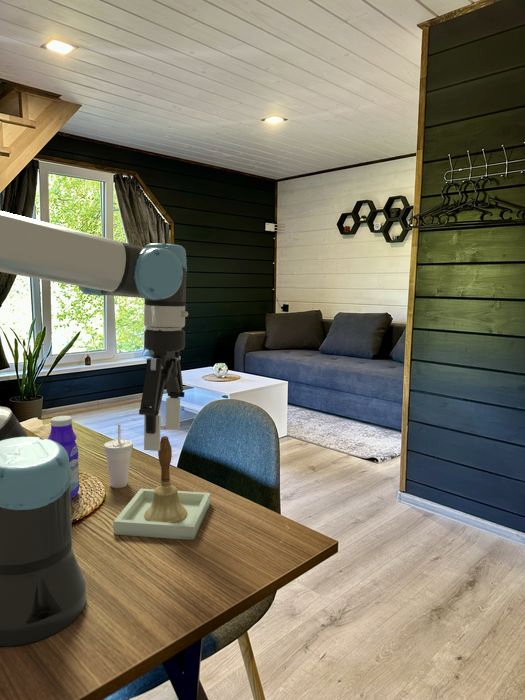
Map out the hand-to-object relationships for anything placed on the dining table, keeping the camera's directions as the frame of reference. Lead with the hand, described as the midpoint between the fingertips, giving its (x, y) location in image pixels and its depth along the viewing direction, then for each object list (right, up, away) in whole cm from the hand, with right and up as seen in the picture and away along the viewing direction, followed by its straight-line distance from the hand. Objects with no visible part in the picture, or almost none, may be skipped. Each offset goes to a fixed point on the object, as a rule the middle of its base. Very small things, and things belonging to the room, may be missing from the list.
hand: (163, 439), depth 97 cm
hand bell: (0, -16, +3) cm, 16 cm away
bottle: (-23, -15, +11) cm, 30 cm away
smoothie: (-14, -14, +18) cm, 27 cm away
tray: (0, -16, +2) cm, 16 cm away
